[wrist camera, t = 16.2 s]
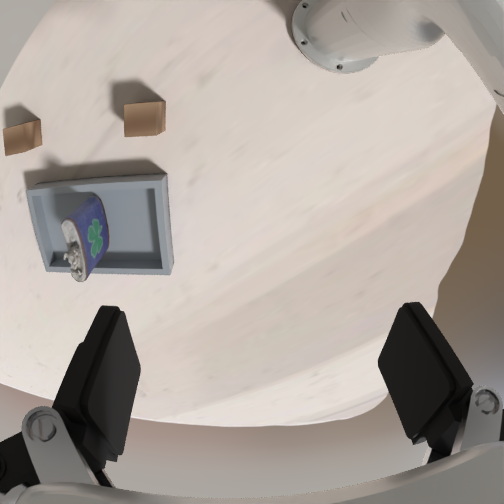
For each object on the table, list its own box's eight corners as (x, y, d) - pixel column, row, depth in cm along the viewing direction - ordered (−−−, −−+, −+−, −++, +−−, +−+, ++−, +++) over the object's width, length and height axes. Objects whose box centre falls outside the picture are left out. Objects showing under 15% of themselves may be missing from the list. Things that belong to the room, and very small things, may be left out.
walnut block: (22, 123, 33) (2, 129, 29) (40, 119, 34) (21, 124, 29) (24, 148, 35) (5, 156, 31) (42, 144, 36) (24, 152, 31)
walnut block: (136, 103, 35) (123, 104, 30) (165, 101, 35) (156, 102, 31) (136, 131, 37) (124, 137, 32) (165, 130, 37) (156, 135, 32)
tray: (37, 183, 38) (26, 190, 35) (167, 173, 40) (161, 180, 37) (55, 260, 45) (46, 271, 42) (174, 262, 46) (170, 275, 43)
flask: (87, 194, 39) (51, 225, 30) (104, 194, 39) (71, 225, 30) (96, 251, 44) (68, 291, 34) (112, 251, 44) (87, 292, 34)
